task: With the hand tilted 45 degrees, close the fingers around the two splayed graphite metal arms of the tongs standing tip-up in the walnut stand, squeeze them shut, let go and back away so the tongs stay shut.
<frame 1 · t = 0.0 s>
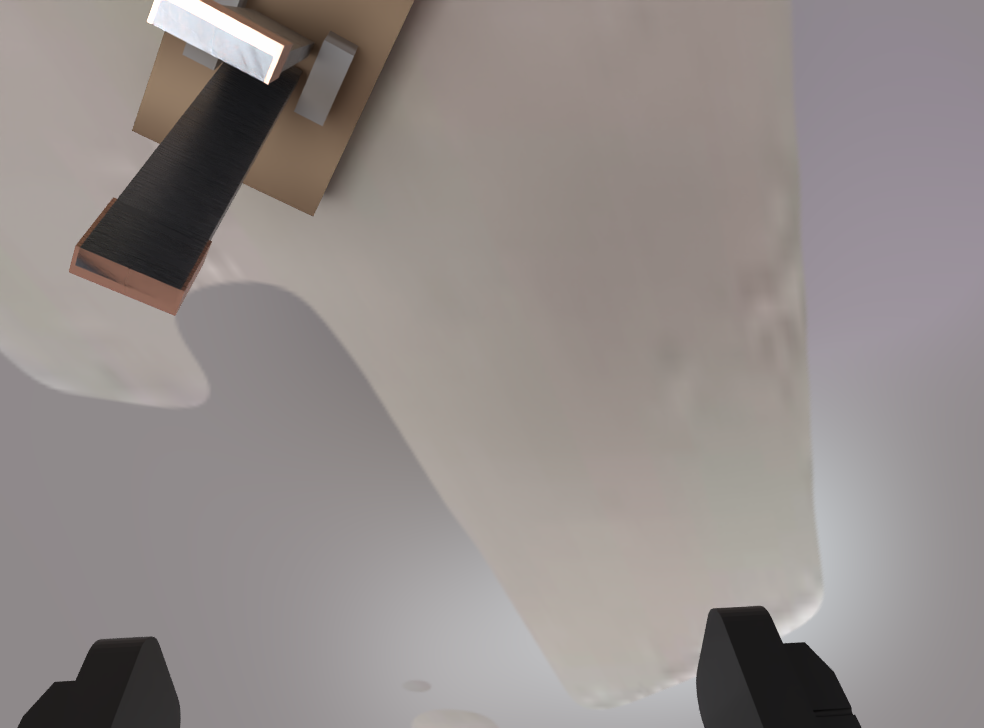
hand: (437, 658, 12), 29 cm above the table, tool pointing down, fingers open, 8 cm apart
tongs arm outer: (213, 149, 26), point 11 cm above the table, hinge at 10.0°
tongs stand: (289, 32, 34), on the table
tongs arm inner: (259, 31, 24), point 11 cm above the table, hinge at 10.0°
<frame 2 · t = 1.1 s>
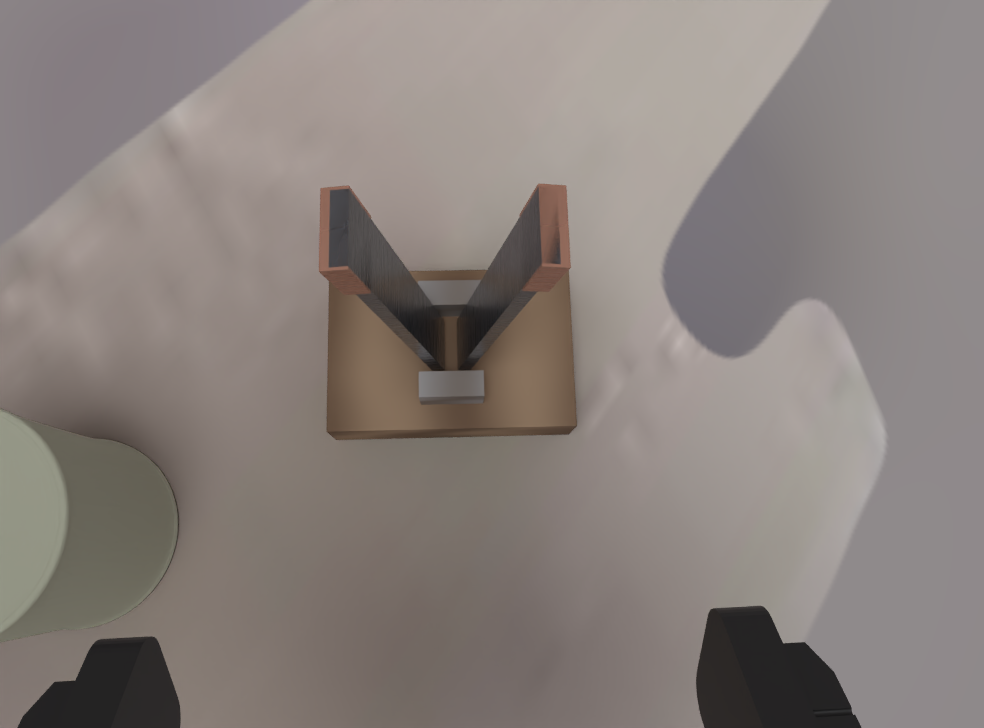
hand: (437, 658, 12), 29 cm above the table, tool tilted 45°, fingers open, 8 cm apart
can: (86, 531, 40), on the table
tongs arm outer: (500, 298, 32), point 11 cm above the table, hinge at 10.0°
tongs stand: (451, 361, 42), on the table
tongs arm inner: (396, 300, 31), point 11 cm above the table, hinge at 10.0°
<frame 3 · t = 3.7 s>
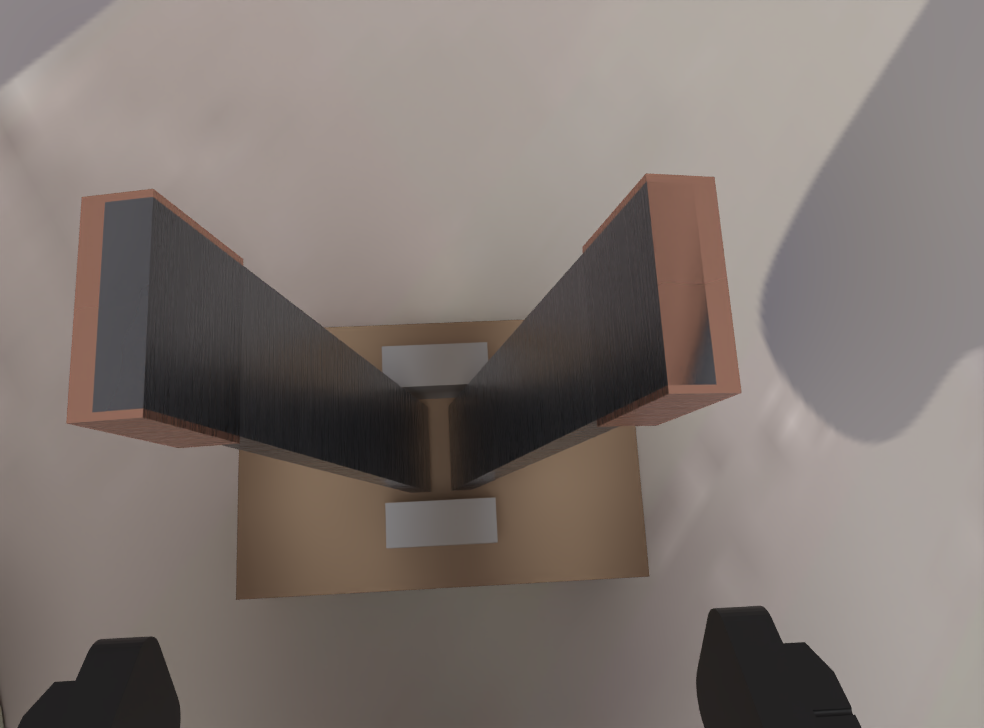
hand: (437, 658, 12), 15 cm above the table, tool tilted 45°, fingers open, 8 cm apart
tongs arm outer: (529, 400, 17), point 11 cm above the table, hinge at 10.0°
tongs stand: (442, 461, 27), on the table
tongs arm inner: (330, 409, 16), point 11 cm above the table, hinge at 10.0°
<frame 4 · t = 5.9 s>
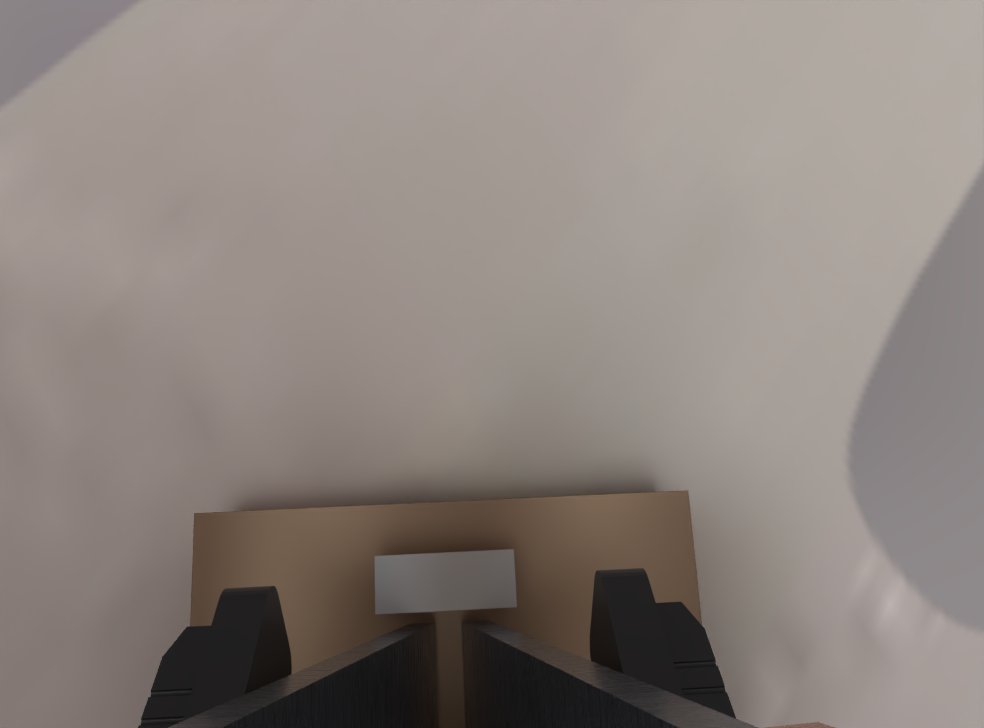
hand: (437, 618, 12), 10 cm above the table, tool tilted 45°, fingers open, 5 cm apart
tongs stand: (452, 659, 21), on the table
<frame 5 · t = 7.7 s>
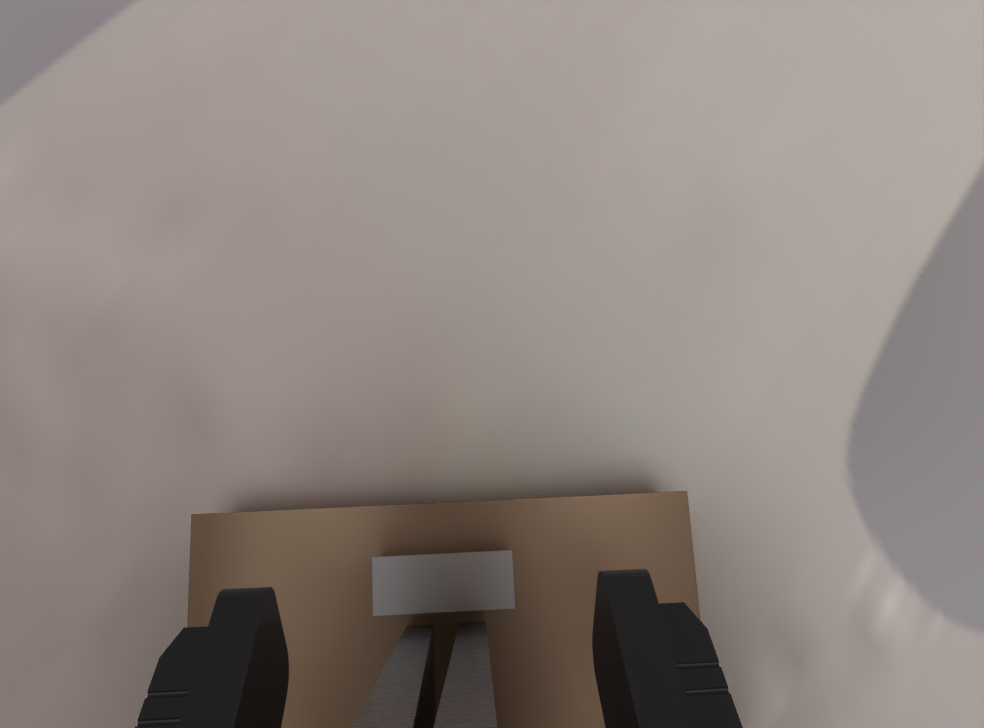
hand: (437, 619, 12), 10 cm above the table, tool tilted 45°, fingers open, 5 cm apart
tongs stand: (450, 660, 21), on the table
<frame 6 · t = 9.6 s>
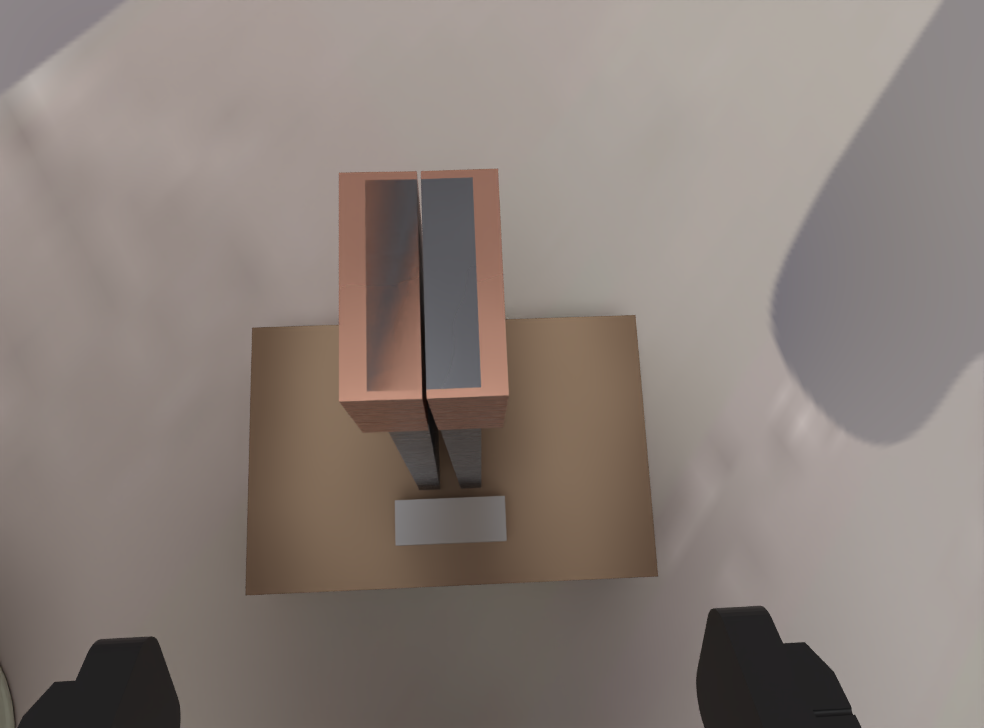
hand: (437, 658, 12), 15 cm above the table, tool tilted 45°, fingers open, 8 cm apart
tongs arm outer: (471, 399, 16), point 11 cm above the table, hinge at -1.0°
tongs stand: (451, 459, 27), on the table
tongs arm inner: (411, 401, 16), point 11 cm above the table, hinge at -1.1°
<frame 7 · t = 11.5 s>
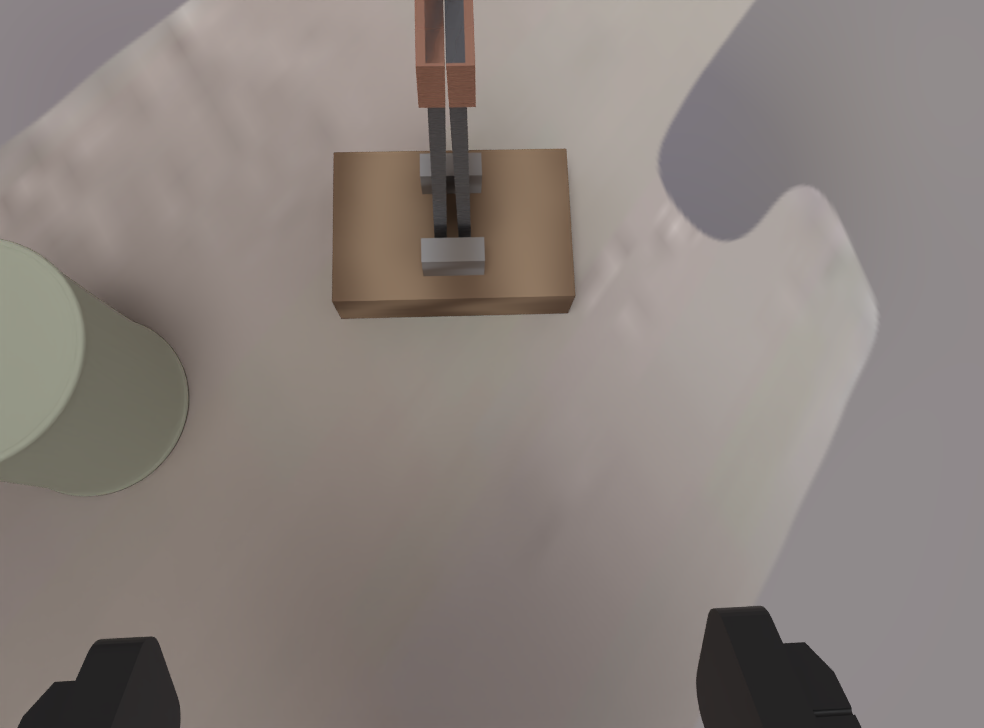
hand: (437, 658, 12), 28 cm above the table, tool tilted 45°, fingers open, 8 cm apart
can: (99, 405, 41), on the table
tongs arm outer: (464, 144, 32), point 11 cm above the table, hinge at -1.0°
tongs stand: (453, 244, 43), on the table
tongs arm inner: (434, 145, 32), point 11 cm above the table, hinge at -1.1°
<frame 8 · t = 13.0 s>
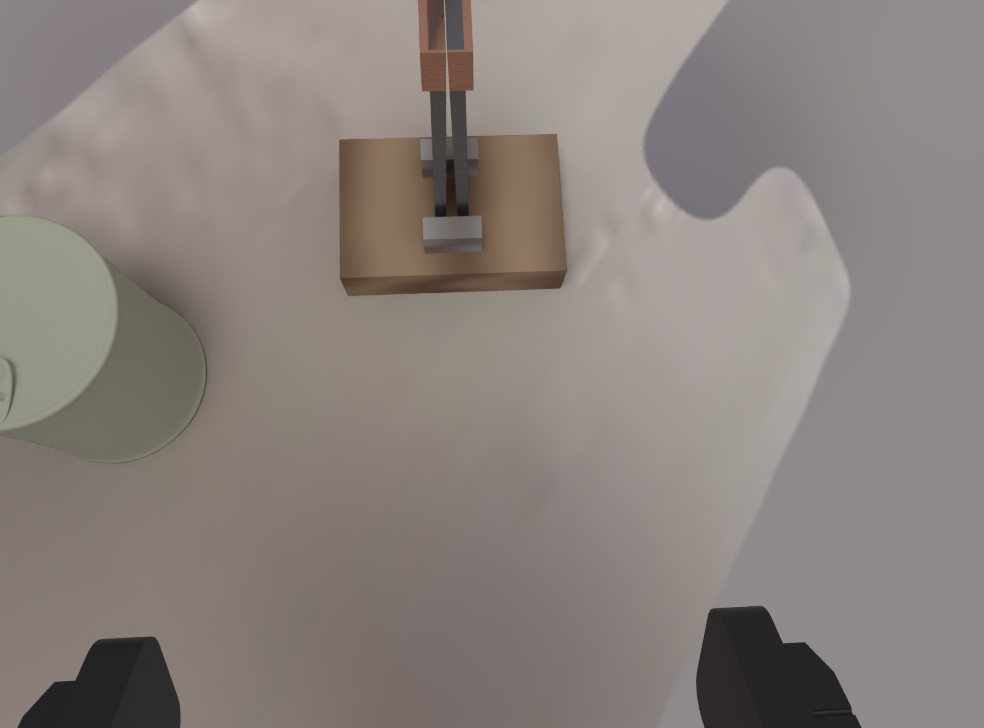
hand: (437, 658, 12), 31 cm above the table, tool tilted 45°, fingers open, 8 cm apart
can: (122, 379, 44), on the table
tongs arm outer: (462, 127, 35), point 11 cm above the table, hinge at -1.0°
tongs stand: (452, 225, 46), on the table
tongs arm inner: (435, 128, 35), point 11 cm above the table, hinge at -1.1°
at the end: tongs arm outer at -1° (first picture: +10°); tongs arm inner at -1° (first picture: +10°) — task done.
